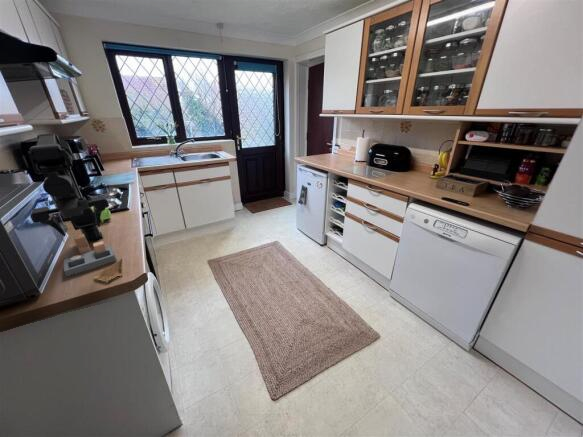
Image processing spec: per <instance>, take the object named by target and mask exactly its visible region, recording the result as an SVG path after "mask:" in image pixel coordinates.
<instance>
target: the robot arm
mask: <svg viewBox="0 0 583 437" xmlns="http://www.w3.org/2000/svg"><path fill="white" fill-rule="evenodd" d="M36 138H37V142H36V143H35V144H36V145H33V146H32V145H31V147H30V148H29V151H27V153H28V157H29V160H30V162H31V165H32V168H33V172H34V174H35V175H41V174H43V176H44V180H43V183H42V188H43V190H44V192H45V193H46V194H48V195H50V196H51V197H53V198H54V200H55V204H56V206H57V207H55V208H50V207H49V206H42V207H35V208H33V209H31V211H30V215H29V216H30V219H31V221H32V222H33V224H38V223H40V224H41V225H44V224H46V225H49V226H51V227H52V228H54V229H55V230H56V231H57V232H58V233H59V234H61V236H63V237H65V236H66V233H65V232H66V231H65V230H64V228H63V227H62V226H61V224H60V222H59V221H58V219H57V218H56V216H55V215H60V214H61V216H62V218H63V219H69V220H70V223H71V225H72V226H73V229H74V230H75V231H79V230H80V232H81V234H84V235H85V238H86V240H87V242H88V243H91V242H94V241H98V240H101V239H104V236H103V233H102V232H100V230H99V228H100V227H101V224H102V221H101V219H100V216H101V212H102V211H103V210H105V208H107V207H108V208H109V207H110V204H109V201H108V199H107V197H106V196H104V195H100V196H94V197H90V199H91V201H87V199H86V197H85V196H84V197H83V194H82V192H81V190H80V188H79V185H78V183H77V181H76V180H77V179H76V178H75V175H74V173H73V170H72V167H73V166H74V165H73V158H72V157H73V156H74V154H73V152H72V149H71V147H70V145H69V143H68V141H67V140H64V139H62V138H60V137H59V136H58V133H56V134H55V133H40V134H38V135H36ZM92 207H93V208H94V212H93V210H92Z"/></svg>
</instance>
